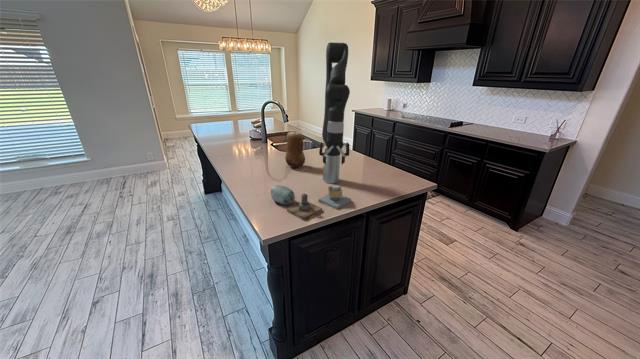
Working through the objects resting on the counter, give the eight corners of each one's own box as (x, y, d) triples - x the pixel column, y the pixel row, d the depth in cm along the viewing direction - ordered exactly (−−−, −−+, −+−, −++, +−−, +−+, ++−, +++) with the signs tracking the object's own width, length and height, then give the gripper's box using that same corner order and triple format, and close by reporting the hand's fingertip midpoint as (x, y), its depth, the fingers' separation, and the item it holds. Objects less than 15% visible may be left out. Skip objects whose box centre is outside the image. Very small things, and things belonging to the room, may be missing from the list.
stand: (286, 211, 120) (286, 195, 117) (304, 202, 128) (304, 187, 125) (304, 220, 112) (304, 203, 109) (322, 211, 121) (322, 195, 117)
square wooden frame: (329, 197, 126) (329, 191, 124) (328, 191, 131) (328, 186, 130) (342, 197, 126) (342, 191, 125) (340, 191, 132) (340, 186, 131)
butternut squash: (306, 164, 183) (306, 130, 173) (303, 171, 171) (303, 134, 161) (287, 163, 184) (286, 129, 175) (283, 170, 172) (282, 133, 162)
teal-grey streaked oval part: (301, 196, 127) (291, 182, 122) (289, 210, 123) (278, 196, 118) (286, 194, 137) (275, 180, 132) (274, 206, 133) (263, 193, 128)
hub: (318, 201, 130) (318, 186, 127) (333, 194, 138) (333, 179, 135) (336, 209, 122) (337, 193, 119) (351, 201, 131) (352, 186, 127)
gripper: (320, 132, 113) (319, 166, 119) (351, 132, 113) (349, 166, 120) (319, 128, 120) (318, 160, 126) (349, 129, 120) (346, 161, 127)
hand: (333, 163), depth 123 cm, fingers open, 8 cm apart
